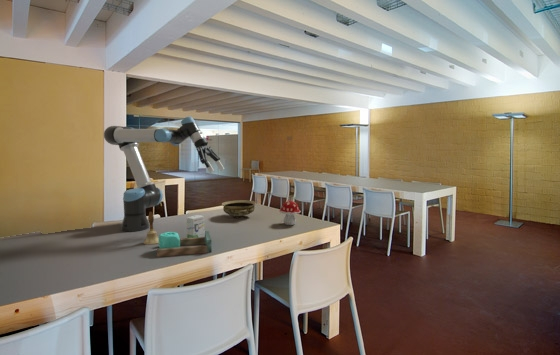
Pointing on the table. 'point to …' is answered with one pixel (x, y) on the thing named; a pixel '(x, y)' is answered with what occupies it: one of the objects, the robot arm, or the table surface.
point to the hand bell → (151, 232)
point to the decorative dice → (169, 240)
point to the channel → (190, 249)
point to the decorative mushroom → (289, 212)
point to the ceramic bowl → (239, 208)
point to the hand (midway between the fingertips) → (217, 171)
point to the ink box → (195, 226)
